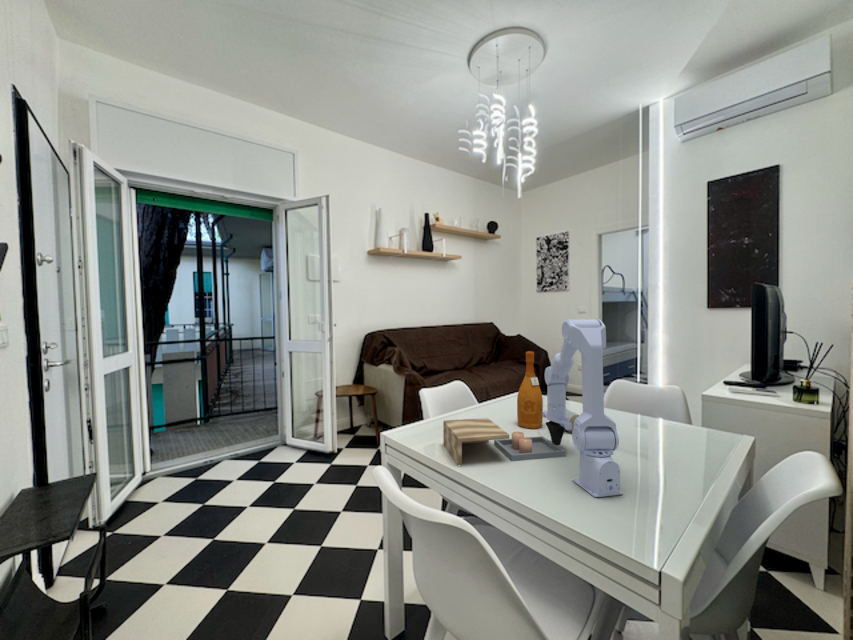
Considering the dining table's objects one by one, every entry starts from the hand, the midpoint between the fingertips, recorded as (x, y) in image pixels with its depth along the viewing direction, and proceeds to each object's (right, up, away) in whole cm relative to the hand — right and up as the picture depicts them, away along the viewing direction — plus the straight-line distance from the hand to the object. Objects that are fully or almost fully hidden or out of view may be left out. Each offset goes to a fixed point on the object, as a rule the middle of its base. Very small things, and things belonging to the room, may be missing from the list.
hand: (556, 444), depth 119 cm
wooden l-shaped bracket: (-28, -1, -4) cm, 28 cm away
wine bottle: (-2, -1, +24) cm, 24 cm away
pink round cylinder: (-12, -1, -5) cm, 13 cm away
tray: (-10, -2, -2) cm, 10 cm away
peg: (-13, -1, 0) cm, 13 cm away
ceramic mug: (+13, -1, +19) cm, 23 cm away
